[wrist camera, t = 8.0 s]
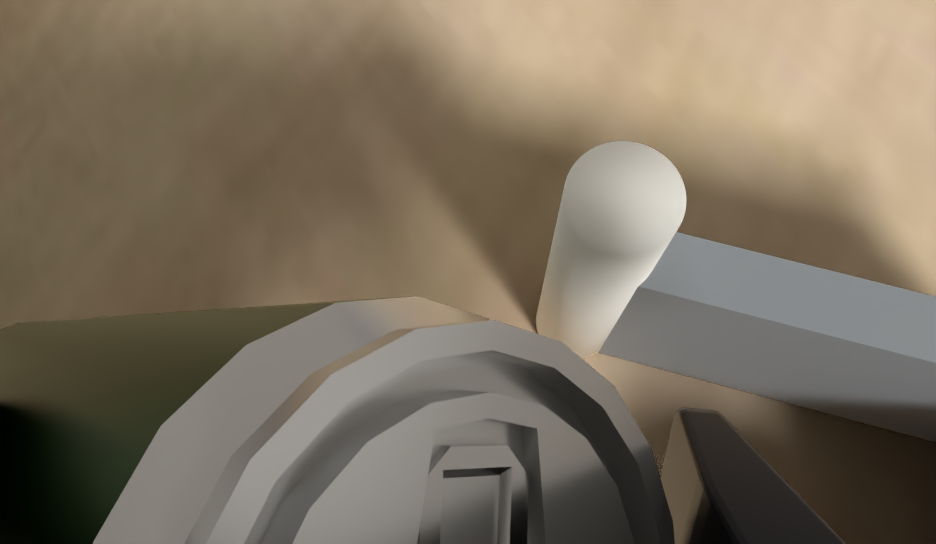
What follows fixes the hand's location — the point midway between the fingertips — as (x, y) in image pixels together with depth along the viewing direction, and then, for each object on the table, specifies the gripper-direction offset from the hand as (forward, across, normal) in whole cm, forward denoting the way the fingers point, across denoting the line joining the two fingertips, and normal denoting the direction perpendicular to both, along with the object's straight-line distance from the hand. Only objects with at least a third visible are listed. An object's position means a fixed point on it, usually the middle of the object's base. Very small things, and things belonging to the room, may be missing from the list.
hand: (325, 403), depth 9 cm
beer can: (+4, +6, +6) cm, 9 cm away
